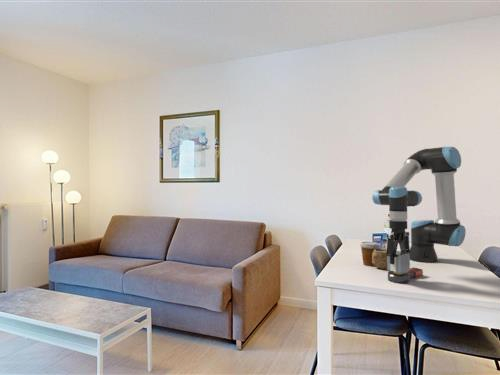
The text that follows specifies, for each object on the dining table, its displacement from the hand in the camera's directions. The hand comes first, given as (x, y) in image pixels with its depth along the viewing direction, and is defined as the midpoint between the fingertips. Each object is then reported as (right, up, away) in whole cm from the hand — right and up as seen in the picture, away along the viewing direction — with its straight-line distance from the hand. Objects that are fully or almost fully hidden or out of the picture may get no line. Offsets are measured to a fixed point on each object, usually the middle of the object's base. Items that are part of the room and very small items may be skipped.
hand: (398, 269), depth 139 cm
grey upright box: (0, 0, 0) cm, 0 cm away
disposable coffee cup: (-2, -5, +28) cm, 28 cm away
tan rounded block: (+4, -5, +19) cm, 20 cm away
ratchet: (+5, -5, +3) cm, 8 cm away
